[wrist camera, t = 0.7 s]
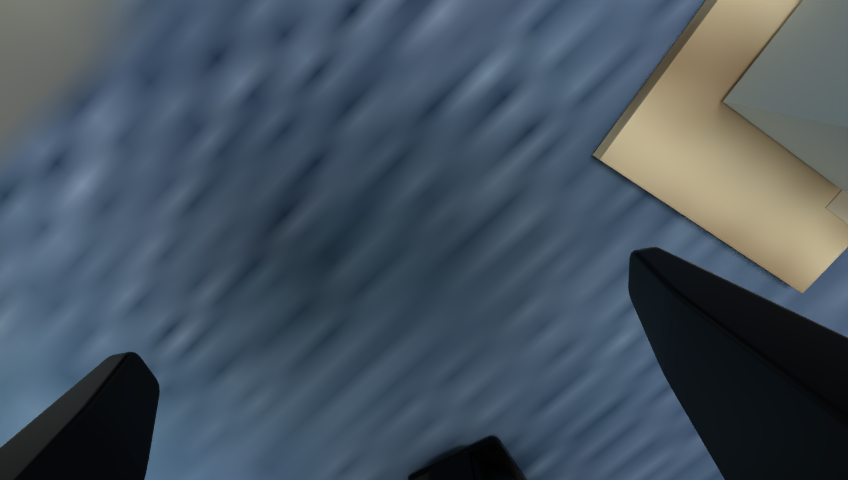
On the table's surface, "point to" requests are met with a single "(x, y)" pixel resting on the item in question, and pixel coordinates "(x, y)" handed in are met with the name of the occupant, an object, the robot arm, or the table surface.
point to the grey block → (803, 88)
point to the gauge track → (728, 148)
